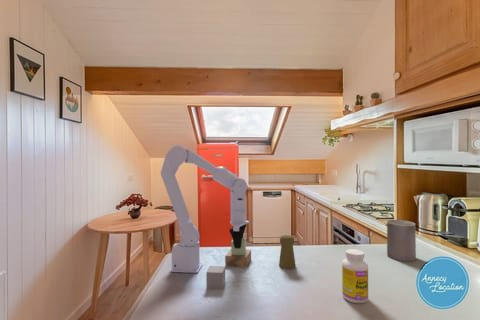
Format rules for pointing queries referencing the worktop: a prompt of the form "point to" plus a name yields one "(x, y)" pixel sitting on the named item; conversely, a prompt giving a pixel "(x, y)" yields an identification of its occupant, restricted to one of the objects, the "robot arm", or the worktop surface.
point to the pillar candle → (401, 240)
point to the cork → (287, 252)
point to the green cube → (239, 250)
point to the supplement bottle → (355, 277)
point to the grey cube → (215, 277)
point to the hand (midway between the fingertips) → (238, 245)
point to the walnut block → (238, 259)
